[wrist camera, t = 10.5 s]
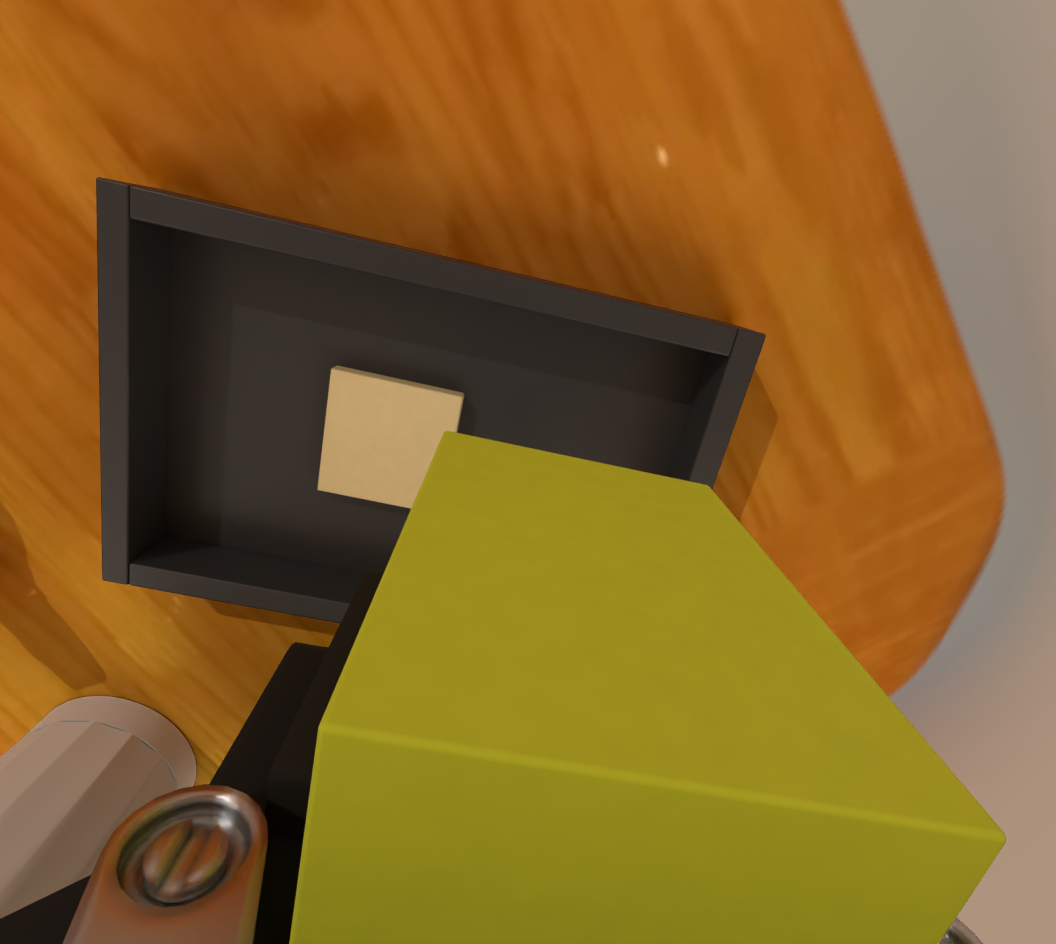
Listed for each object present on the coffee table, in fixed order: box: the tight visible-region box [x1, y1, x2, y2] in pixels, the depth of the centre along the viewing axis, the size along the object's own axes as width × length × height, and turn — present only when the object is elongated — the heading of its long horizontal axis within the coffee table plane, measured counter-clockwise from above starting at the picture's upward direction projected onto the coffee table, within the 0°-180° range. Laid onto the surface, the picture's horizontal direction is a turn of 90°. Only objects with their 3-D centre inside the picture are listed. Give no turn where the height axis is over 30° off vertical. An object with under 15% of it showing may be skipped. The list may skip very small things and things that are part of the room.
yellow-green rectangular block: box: [289, 431, 1006, 944], centre depth 8 cm, size 4×7×6 cm, turn 168°
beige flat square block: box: [318, 366, 464, 508], centre depth 19 cm, size 4×4×1 cm
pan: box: [96, 177, 766, 623], centre depth 19 cm, size 18×12×3 cm, turn 77°
